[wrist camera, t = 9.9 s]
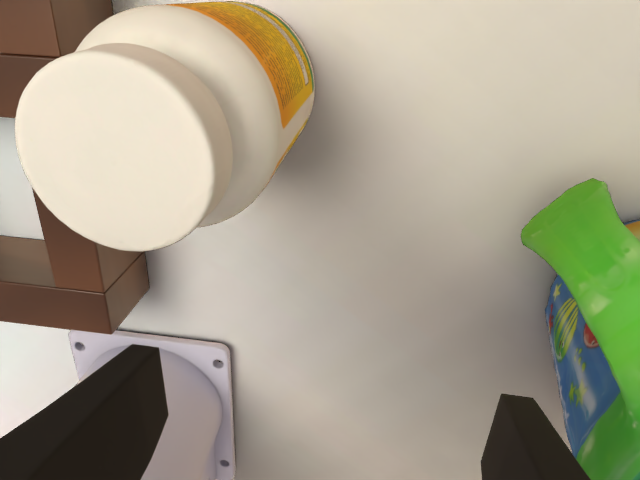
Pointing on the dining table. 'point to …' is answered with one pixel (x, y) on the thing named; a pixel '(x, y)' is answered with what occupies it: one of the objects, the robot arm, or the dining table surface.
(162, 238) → the supplement bottle
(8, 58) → the holder
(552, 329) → the snack cup
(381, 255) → the dining table surface
